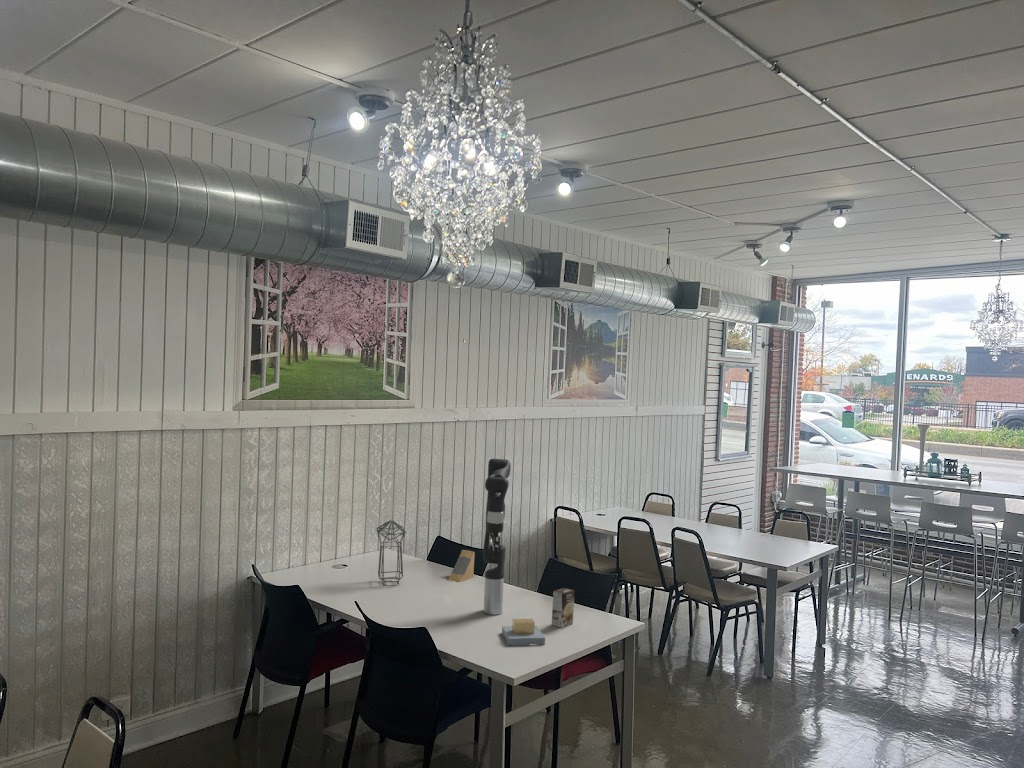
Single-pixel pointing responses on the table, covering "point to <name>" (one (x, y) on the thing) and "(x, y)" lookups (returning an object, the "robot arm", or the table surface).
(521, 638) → the slate board
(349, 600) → the table surface
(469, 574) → the sandwich container
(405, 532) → the geometric lantern
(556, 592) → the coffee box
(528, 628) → the tan rectangular block
